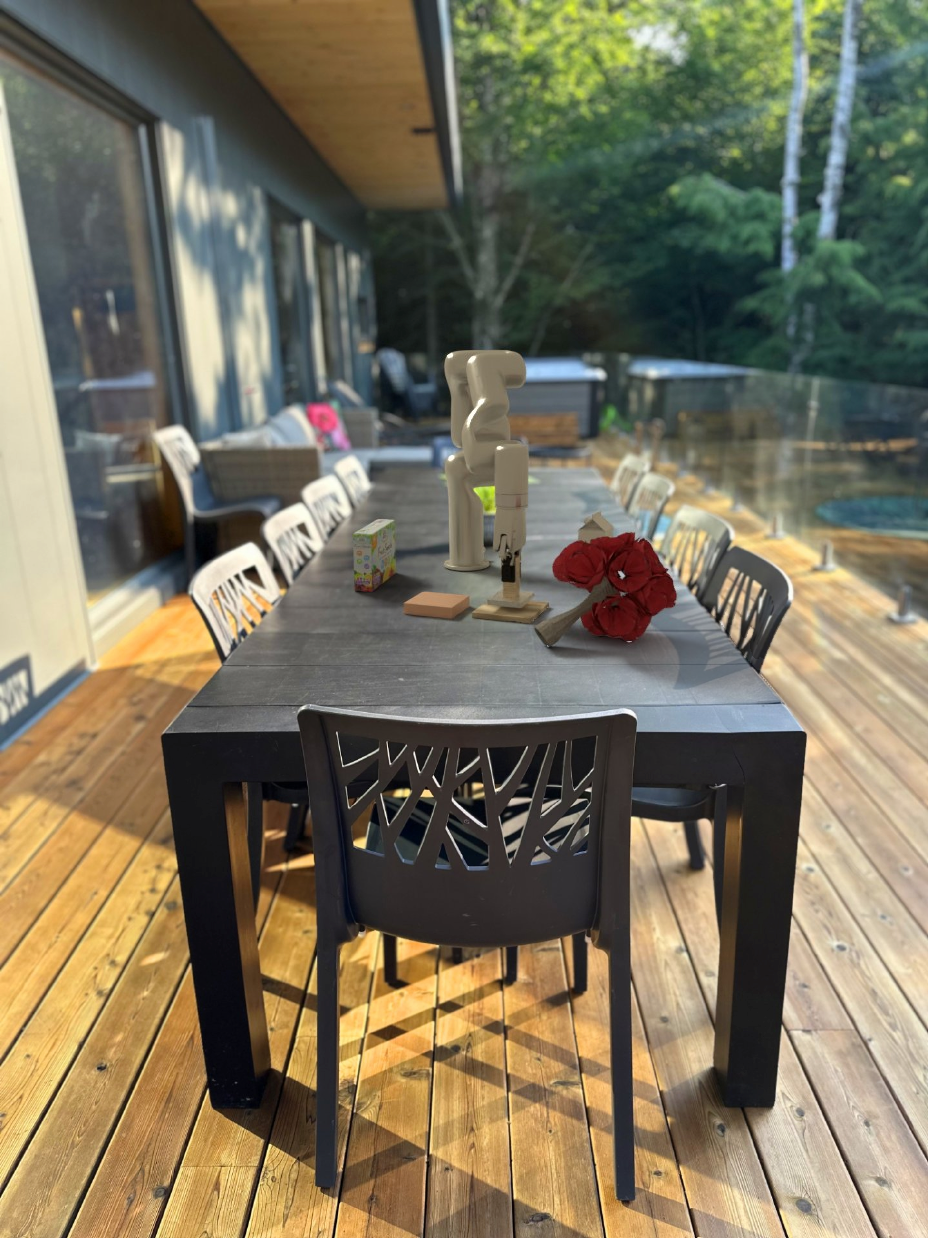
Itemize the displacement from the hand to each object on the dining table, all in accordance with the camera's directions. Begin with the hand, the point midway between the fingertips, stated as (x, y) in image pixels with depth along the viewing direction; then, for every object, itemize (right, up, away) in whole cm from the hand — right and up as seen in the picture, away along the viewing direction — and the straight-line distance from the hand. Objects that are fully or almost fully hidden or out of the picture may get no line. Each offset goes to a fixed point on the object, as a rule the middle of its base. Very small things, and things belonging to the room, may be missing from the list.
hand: (511, 579), depth 208 cm
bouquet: (+18, -14, -18) cm, 29 cm away
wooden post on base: (0, -5, +1) cm, 5 cm away
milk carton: (+23, -1, +24) cm, 33 cm away
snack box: (-34, 0, +31) cm, 46 cm away
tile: (-15, -4, +10) cm, 18 cm away
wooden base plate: (0, -8, +2) cm, 8 cm away
